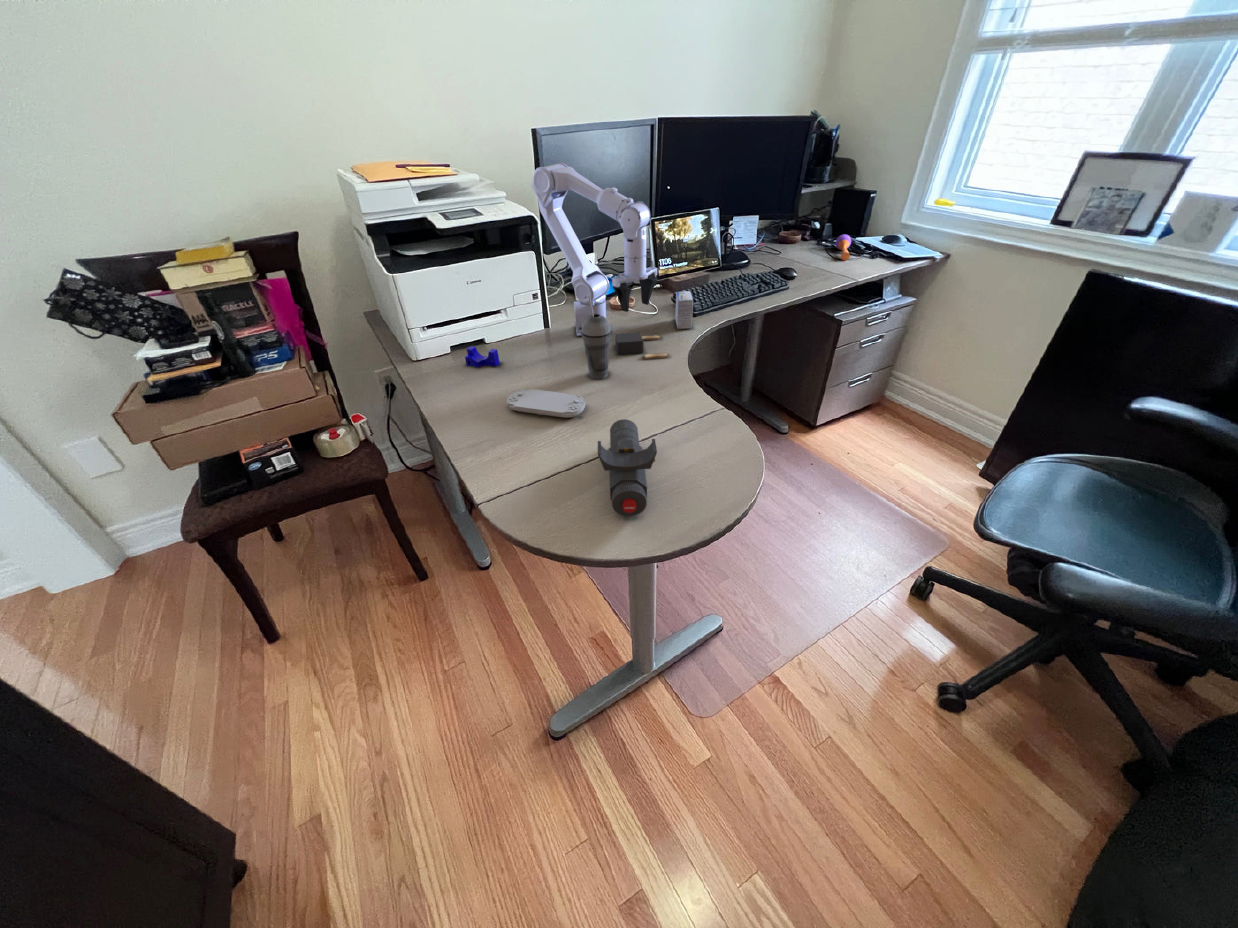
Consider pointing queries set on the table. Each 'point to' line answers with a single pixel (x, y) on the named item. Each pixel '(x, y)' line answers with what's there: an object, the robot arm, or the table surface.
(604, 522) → the table surface
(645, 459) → the laser sight
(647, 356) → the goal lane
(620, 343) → the black block
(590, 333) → the beverage cup
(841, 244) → the kendama
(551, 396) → the game console
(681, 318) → the medicine box
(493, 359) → the cable holder
